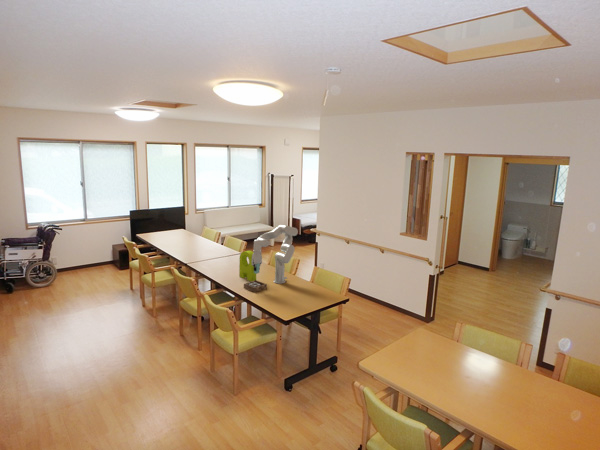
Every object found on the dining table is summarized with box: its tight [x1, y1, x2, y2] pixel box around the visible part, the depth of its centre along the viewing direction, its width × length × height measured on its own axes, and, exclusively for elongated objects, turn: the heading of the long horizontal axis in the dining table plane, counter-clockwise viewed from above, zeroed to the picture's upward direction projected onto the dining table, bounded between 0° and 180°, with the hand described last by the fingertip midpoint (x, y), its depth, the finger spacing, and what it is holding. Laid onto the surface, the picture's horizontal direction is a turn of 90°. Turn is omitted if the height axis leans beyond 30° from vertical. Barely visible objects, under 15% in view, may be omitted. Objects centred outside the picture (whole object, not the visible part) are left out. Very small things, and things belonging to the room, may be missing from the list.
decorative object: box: [238, 250, 257, 282], centre depth 397 cm, size 20×7×30 cm, turn 47°
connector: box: [254, 263, 261, 275], centre depth 368 cm, size 4×4×11 cm
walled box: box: [243, 279, 268, 293], centre depth 371 cm, size 16×16×4 cm
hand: (256, 270), depth 368 cm, fingers closed on connector, 3 cm apart
